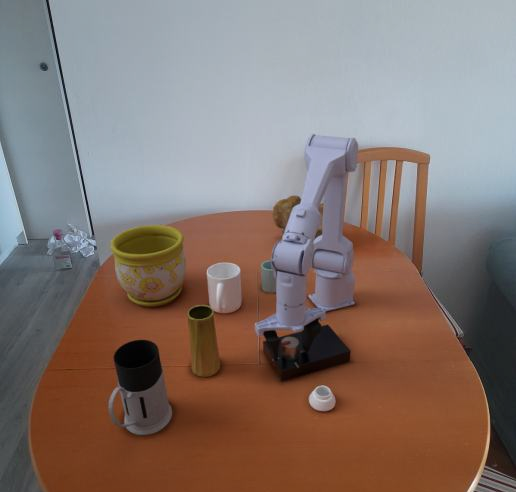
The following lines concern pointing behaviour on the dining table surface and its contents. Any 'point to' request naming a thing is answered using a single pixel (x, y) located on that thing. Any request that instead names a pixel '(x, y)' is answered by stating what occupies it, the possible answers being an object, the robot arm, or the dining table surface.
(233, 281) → the mug
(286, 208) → the rough brown rock
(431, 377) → the dining table surface
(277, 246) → the robot arm
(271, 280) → the cup
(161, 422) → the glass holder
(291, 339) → the hob knob
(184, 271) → the flowerpot
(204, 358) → the vase
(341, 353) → the hob
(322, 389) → the white jar
